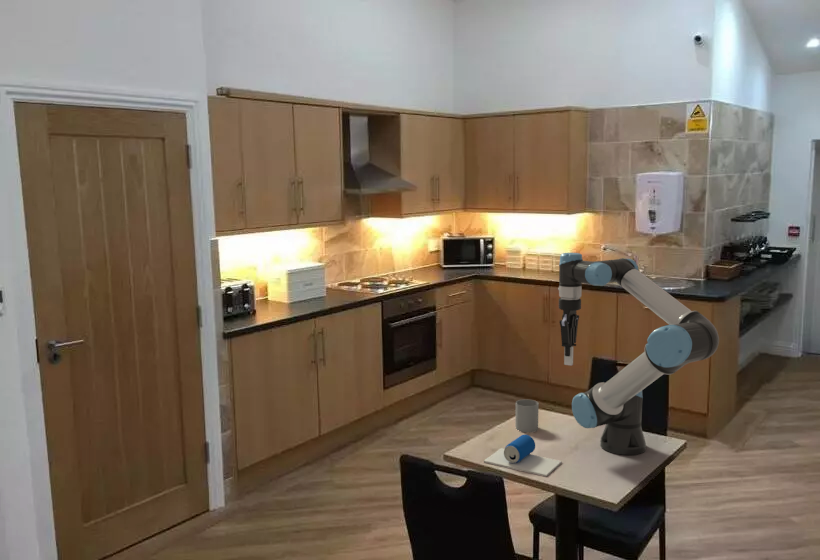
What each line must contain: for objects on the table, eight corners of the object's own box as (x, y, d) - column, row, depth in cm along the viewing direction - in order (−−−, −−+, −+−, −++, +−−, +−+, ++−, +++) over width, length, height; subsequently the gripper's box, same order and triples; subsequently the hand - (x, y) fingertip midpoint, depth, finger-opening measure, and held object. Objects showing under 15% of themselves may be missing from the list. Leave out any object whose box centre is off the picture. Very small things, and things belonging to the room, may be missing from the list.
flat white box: (561, 462, 236) (561, 461, 236) (546, 476, 225) (546, 474, 225) (501, 449, 247) (501, 447, 247) (483, 462, 237) (483, 460, 237)
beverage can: (522, 453, 245) (506, 465, 235) (516, 435, 245) (499, 446, 235) (538, 450, 241) (523, 462, 231) (532, 432, 241) (516, 443, 232)
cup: (539, 432, 264) (539, 406, 262) (517, 432, 264) (517, 406, 262) (536, 424, 272) (536, 399, 271) (514, 424, 272) (514, 399, 271)
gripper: (566, 294, 253) (565, 359, 257) (552, 299, 242) (551, 367, 246) (587, 296, 249) (585, 361, 253) (573, 301, 238) (572, 370, 242)
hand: (568, 364), depth 249 cm, fingers closed
